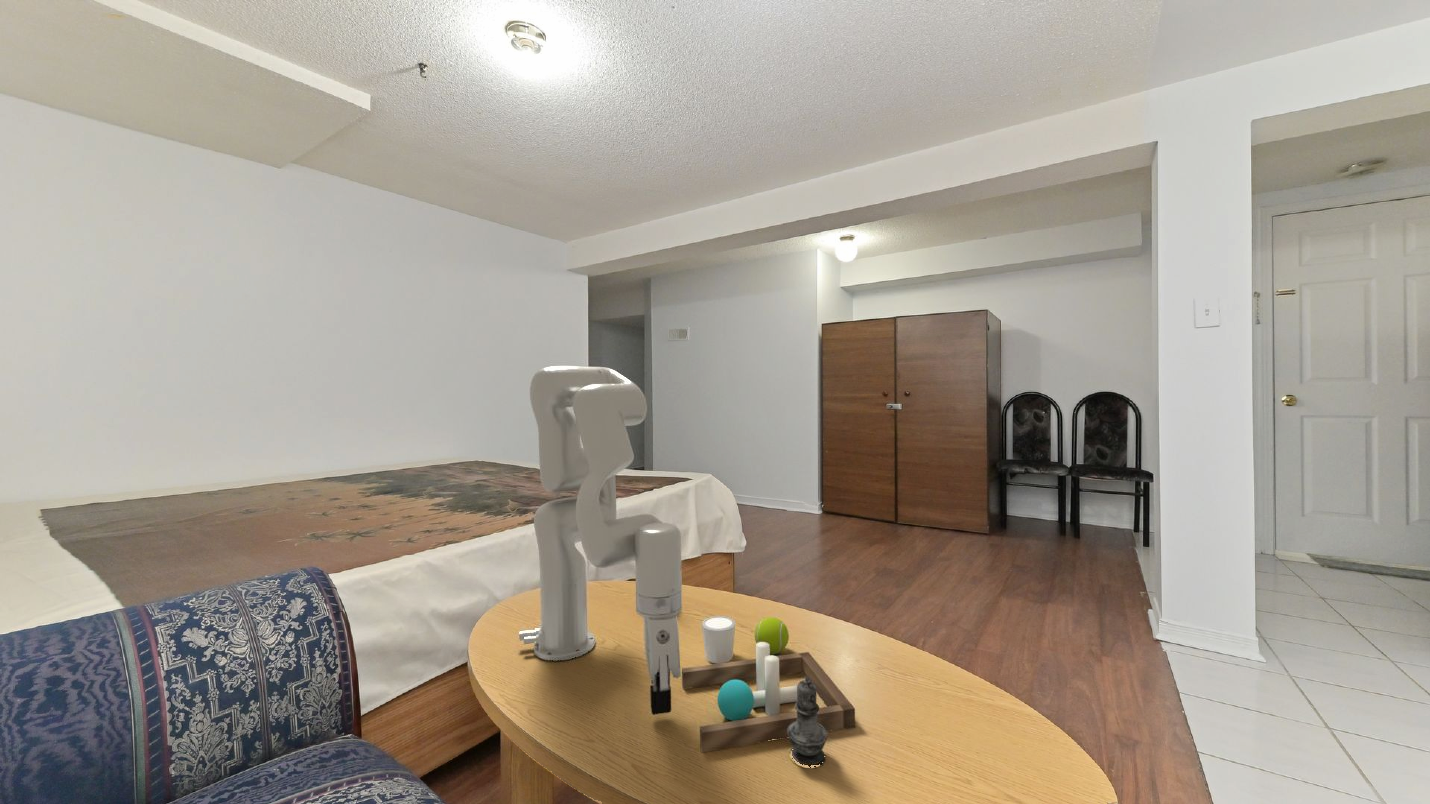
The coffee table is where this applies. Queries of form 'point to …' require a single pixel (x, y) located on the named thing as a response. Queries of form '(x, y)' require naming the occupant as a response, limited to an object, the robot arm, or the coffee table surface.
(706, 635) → the white cup
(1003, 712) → the coffee table surface
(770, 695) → the pin
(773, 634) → the tennis ball
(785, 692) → the pin front
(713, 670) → the bumper lane
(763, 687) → the pin
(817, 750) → the dark gray figurine
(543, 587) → the robot arm
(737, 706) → the ball
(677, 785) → the coffee table surface
